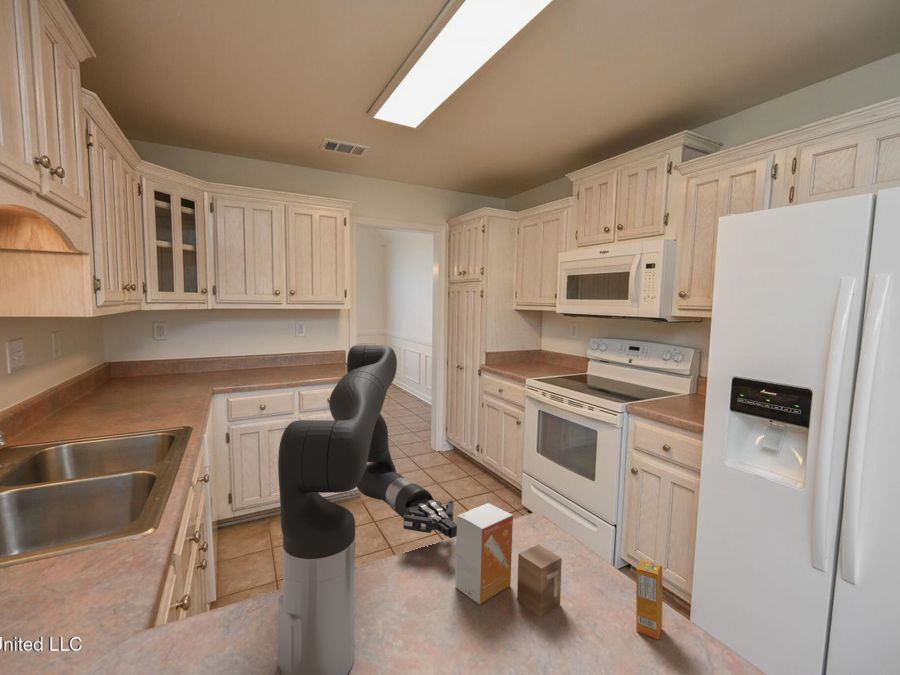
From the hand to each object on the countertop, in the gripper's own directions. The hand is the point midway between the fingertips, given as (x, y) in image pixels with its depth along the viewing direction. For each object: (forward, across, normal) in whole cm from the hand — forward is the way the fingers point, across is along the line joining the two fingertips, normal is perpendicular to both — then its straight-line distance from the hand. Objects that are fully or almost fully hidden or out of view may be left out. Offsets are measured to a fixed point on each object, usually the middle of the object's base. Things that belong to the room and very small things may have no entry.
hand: (454, 532), depth 80 cm
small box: (+9, 0, +6) cm, 11 cm away
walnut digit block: (+17, +5, +6) cm, 19 cm away
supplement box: (+31, +14, +6) cm, 34 cm away
